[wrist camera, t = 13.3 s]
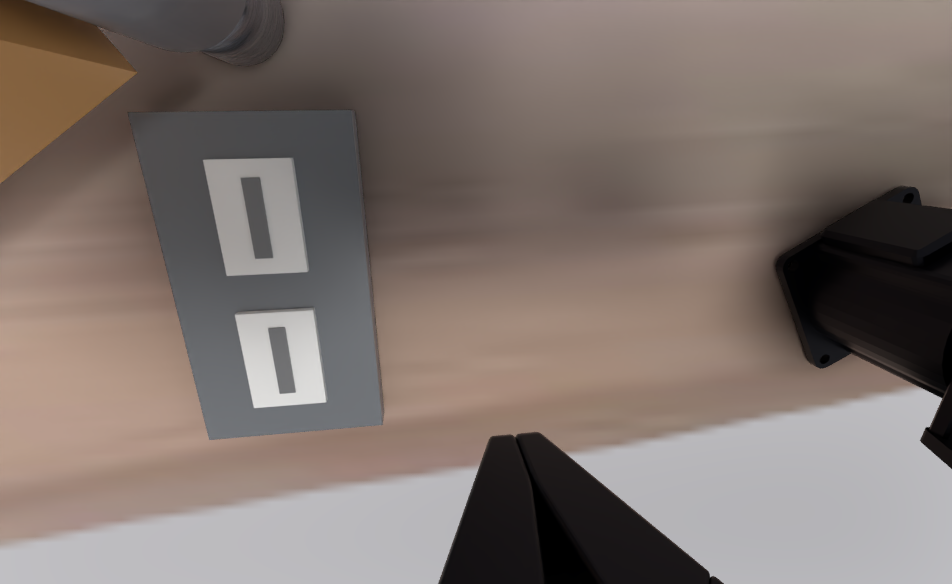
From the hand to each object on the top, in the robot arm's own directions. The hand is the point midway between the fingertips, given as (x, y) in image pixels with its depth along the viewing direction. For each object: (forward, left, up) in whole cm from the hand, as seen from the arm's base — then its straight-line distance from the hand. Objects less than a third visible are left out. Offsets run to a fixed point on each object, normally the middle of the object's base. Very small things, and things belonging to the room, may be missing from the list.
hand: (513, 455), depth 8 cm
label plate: (+3, +6, -12) cm, 13 cm away
